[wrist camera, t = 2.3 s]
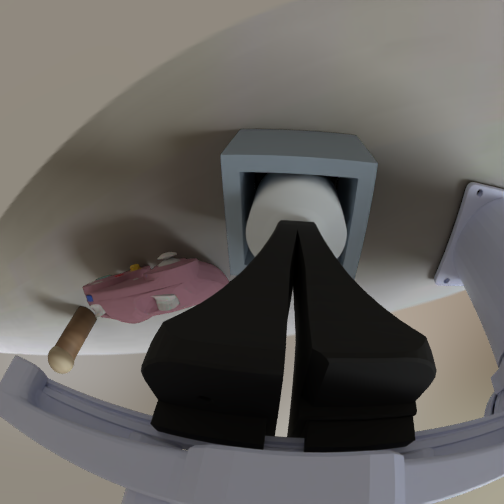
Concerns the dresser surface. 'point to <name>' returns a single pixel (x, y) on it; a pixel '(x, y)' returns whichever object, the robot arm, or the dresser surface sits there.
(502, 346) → the robot arm
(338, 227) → the dome
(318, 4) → the dresser surface
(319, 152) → the hollow square tube
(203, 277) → the video game controller
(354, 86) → the dresser surface
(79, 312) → the post
